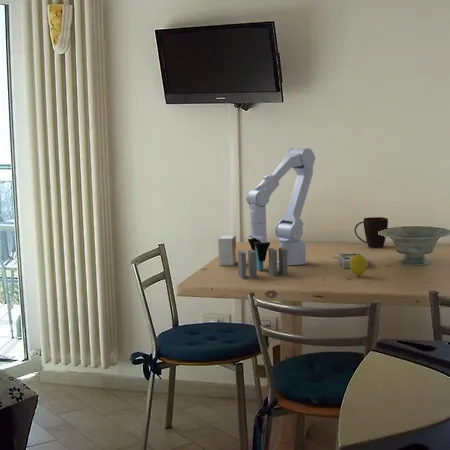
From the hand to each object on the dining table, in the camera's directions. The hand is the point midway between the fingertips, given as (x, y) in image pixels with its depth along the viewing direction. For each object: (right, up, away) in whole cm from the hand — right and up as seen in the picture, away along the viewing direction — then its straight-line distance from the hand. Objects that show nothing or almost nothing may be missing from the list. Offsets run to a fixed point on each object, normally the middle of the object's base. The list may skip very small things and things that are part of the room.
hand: (259, 259), depth 252 cm
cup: (+49, +3, +39) cm, 63 cm away
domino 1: (-6, -6, -11) cm, 14 cm away
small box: (-11, -3, +13) cm, 18 cm away
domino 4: (+8, -5, -8) cm, 12 cm away
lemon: (+33, -5, -17) cm, 38 cm away
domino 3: (+5, -5, -9) cm, 11 cm away
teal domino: (0, -4, +1) cm, 4 cm away
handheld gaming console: (+35, -3, +4) cm, 36 cm away
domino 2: (-3, -5, -10) cm, 12 cm away
